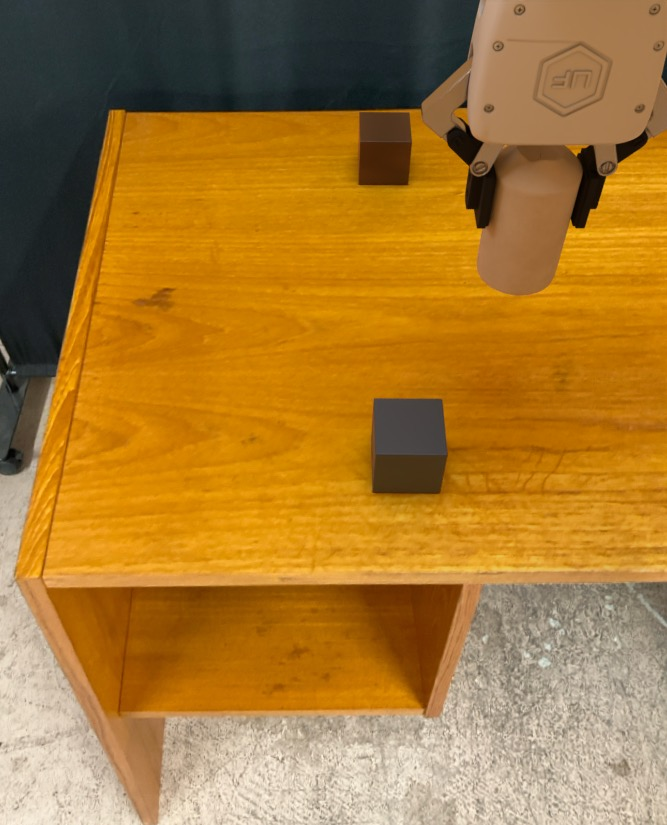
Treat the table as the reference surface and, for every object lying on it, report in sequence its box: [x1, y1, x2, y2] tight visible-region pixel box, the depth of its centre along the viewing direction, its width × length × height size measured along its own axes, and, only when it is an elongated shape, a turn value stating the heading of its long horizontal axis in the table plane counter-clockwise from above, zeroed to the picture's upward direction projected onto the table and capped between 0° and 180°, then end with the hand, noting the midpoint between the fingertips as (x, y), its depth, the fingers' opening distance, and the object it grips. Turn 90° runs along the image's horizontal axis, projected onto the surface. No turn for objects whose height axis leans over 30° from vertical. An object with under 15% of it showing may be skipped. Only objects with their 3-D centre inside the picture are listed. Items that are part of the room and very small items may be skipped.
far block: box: [357, 111, 413, 186], centre depth 82 cm, size 5×5×5 cm
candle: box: [476, 145, 583, 296], centre depth 54 cm, size 6×6×10 cm
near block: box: [370, 397, 449, 494], centre depth 60 cm, size 5×5×5 cm
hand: (527, 212), depth 54 cm, fingers closed on candle, 5 cm apart
